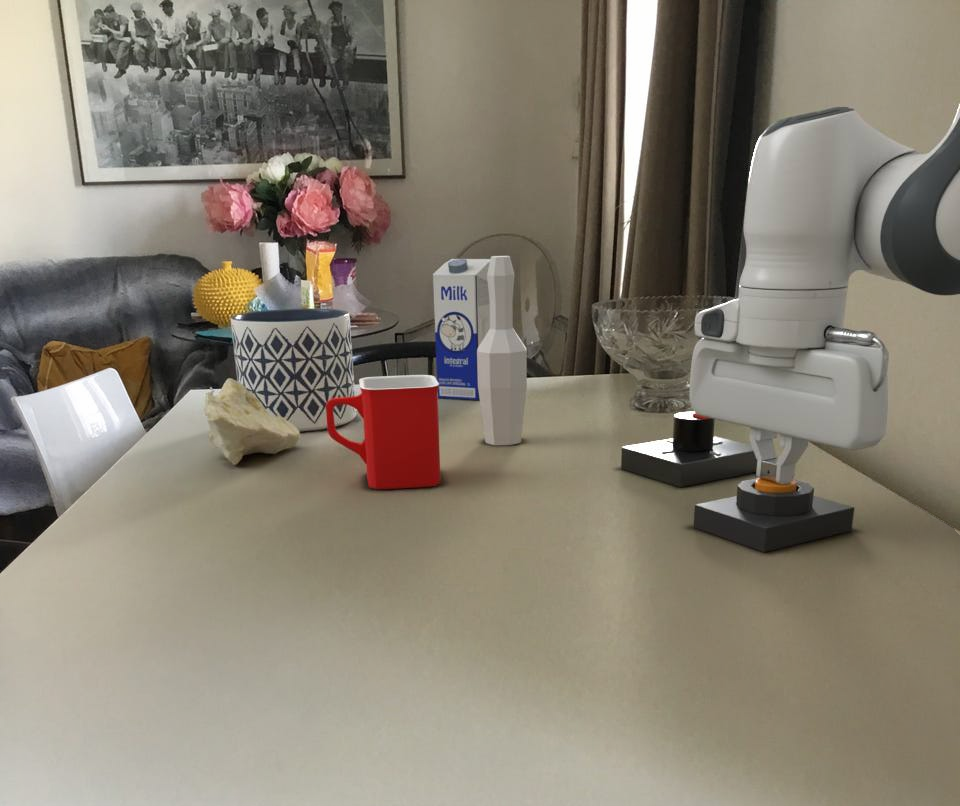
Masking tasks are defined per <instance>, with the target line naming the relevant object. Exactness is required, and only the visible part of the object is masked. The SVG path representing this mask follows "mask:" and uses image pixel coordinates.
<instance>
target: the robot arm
mask: <svg viewBox="0 0 960 806" xmlns="http://www.w3.org/2000/svg"><path fill="white" fill-rule="evenodd" d="M951 123H952V124H951V125H950V127H949V130H948V131H947V132H946V134H945V135H944V136H943V138H942V139H941V140H940V142H938V144H936V146H935V147H933V149H931V150H930V151H929V152H918V151H917V149H915V148H913V147H910V146H907V145H904V144H903V143H900V142H898V141H896V140H894V139H892V138H890V137H889V136H887V135H885V134H884V133H882V132H880V131H879V130H877V129H876V128H874V127H873V126H872V125H871V124H869V122H867V121H865V120H864V119H863V117H861V116H860V114H859V112H858V110H857V109H855V108H850V107H848V106H836V107H835V106H834V107H832V108H831V107H830V108H825V109H821V110H817V111H811V112H807V113H802V114H798V115H797V114H796V115H794V116H789V117H786V118H781V119H778V120H776V121H775V122H774V123H771V125H769V126H768V127H766V129H765V130H764V131H763V133H761V135H760V136H759V138H758V140H757V142H756V144H755V148H754V152H753V156H752V159H751V164H750V165H751V166H750V169H749V170H750V171H749V176H748V181H747V182H748V183H747V190H746V196H745V197H746V198H745V199H746V200H745V207H744V218H743V238H744V241H745V251H746V252H745V262H744V266H743V269H742V273H741V274H740V278H739V284H738V285H739V286H738V297H737V298H736V299H732V300H730V301H727V302H725V303H721V304H719V305H716V306H713V307H710V308H708V309H704V310H702V311H699V312H698V313H697V314H696V315H695V318H694V334H695V336H696V337H699V338H700V339H699V340H698V341H697V342H696V343H695V345H694V348H693V351H692V356H691V365H690V374H689V391H688V392H689V393H688V395H689V402H690V405H691V408H692V410H693V412H695V414H697V415H700V416H705V417H709V418H713V419H715V420H718V421H721V422H726V423H729V424H730V423H731V424H735V425H740V426H744V427H748V428H749V434H748V435H749V436H748V440H749V442H750V445H751V446H752V448H753V451H754V453H755V456H756V459H758V460H757V472H755V473H756V474H755V475H756V478H760V479H764V480H768V481H771V482H774V483H778V484H781V485H783V484H788V483H791V482H792V481H793V480H795V472H796V464H797V463H798V462H799V460H800V459H801V457H802V456H803V454H804V453H805V451H806V450H807V448H808V447H809V442H812V443H817V444H822V445H826V446H830V447H833V448H834V447H835V448H837V449H838V448H839V449H842V450H846V451H847V450H848V451H858V450H864V449H868V448H873V447H875V446H877V445H878V444H879V443H880V442H881V441H882V440H883V438H884V437H885V435H886V432H887V426H888V410H889V382H888V381H889V380H888V368H889V362H890V361H889V359H890V353H889V349H888V348H887V347H886V346H885V344H884V342H883V341H882V340H881V339H879V338H878V335H877V333H875V332H873V331H870V330H853V329H850V328H846V327H844V325H845V315H846V307H847V298H848V289H849V281H850V277H851V276H852V275H853V273H854V272H857V271H864V272H865V273H868V274H870V275H873V276H878V277H882V278H884V279H886V280H891V281H896V282H901V283H905V284H907V285H909V286H911V287H914V288H916V289H918V290H920V291H923V292H924V293H927V294H931V295H934V296H936V295H937V296H956V295H960V104H959V105H958V109H957V111H956V114H955V116H954V119H953V121H952V122H951ZM778 434H779V447H783V449H782V451H781V453H780V455H779V457H778V456H777V451H776V448H775V443H774V441H773V439H777V438H778Z"/></svg>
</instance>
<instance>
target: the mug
mask: <svg viewBox="0 0 960 806" xmlns="http://www.w3.org/2000/svg"><path fill="white" fill-rule="evenodd" d="M358 383H359V388H360V392H361V393H360V394H358V395H355V396H352V397H339V398H332V399H330V400H329V401H328V402H327V403H326V417H327V430H326V431H327V433H328V436H329V437H330V438H331V439H332V440H334V441H335V442H336V443H338V444H340V445H342V446H343V447H345V448H347V449H348V450H350V451H351V452H352V453H353V452H354V453H355V454H357V455H358V456H359V457H360V459H361V460H362V461H363V463H364V464H365V467H366V478H367V484H368V487H369V488H370V489H374V490H398V489H416V488H417V489H419V488H430V487H436V486H439V485H440V483H441V482H442V481H441V479H442V478H441V457H440V456H441V453H440V451H441V450H440V429H439V428H440V427H439V400H438V399H439V398H438V387H439V383H438V381H437V377H436V376H434V375H431V374H407V375H405V374H404V375H387V376H386V375H384V376H383V375H382V376H368V377H366V376H365V377H361V378H359V379H358ZM336 405H349V406H352V407H354V408H355V409H356V412H358V414H359V415H360V417H361V419H362V420H363V434H364V435H363V437H364V439H363V441H362V442H361V443H360V442H357V441H354V440H350V439H348V438H346V437H345V436H343V435H341V434H340V432H339V431H338V430H337V429H336V427H335V423H334V414H333V409H334V407H335V406H336Z"/></svg>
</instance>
